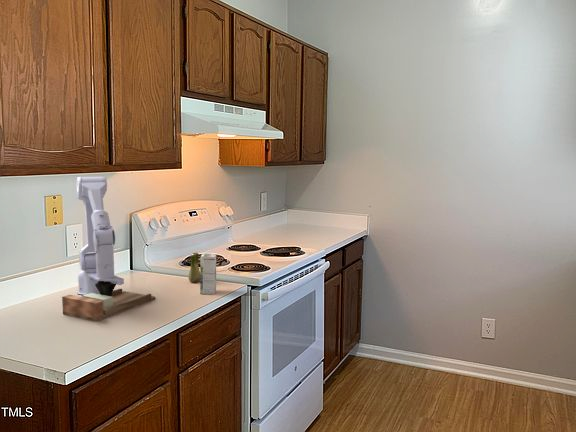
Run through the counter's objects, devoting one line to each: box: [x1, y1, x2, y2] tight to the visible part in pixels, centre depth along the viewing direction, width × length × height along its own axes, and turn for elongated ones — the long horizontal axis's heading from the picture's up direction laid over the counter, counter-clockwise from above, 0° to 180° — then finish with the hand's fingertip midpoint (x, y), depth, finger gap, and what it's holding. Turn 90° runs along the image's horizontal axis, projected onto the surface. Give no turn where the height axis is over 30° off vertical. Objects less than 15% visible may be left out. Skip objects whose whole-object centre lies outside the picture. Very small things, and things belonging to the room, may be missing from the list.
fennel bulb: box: [188, 252, 200, 283], centre depth 220 cm, size 6×5×12 cm
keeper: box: [81, 293, 113, 310], centre depth 181 cm, size 10×4×4 cm, turn 63°
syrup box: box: [199, 253, 217, 295], centre depth 205 cm, size 6×6×14 cm
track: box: [61, 288, 156, 322], centre depth 186 cm, size 15×28×6 cm, turn 153°
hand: (106, 302), depth 184 cm, fingers closed, pressing on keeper
